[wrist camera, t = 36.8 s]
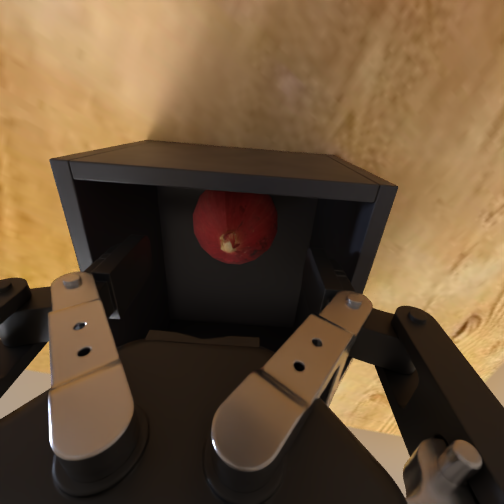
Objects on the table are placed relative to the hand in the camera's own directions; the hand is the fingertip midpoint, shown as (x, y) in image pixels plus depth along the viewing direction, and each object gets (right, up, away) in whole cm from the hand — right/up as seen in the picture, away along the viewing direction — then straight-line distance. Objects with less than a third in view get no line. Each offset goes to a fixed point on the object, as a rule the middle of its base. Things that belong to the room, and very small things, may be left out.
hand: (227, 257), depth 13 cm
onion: (0, +4, +8) cm, 9 cm away
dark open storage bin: (0, 0, +11) cm, 11 cm away
